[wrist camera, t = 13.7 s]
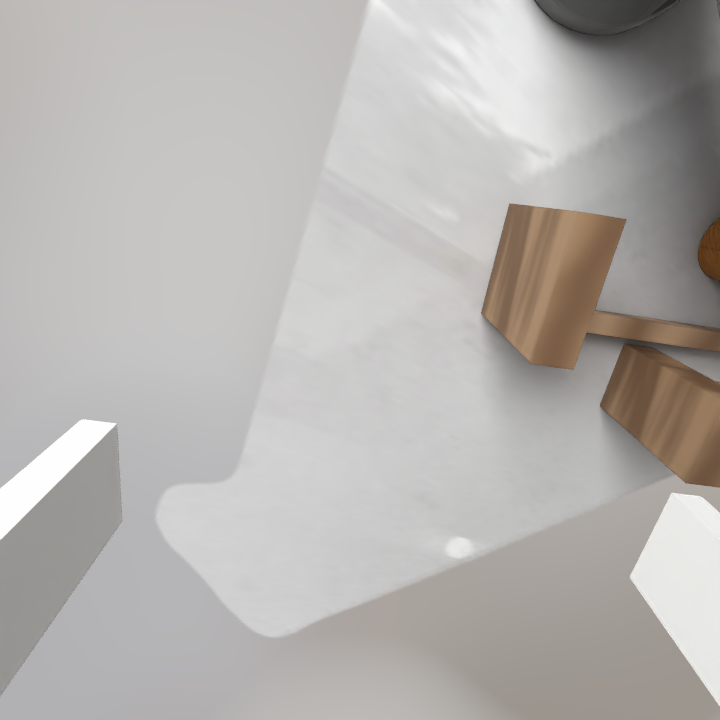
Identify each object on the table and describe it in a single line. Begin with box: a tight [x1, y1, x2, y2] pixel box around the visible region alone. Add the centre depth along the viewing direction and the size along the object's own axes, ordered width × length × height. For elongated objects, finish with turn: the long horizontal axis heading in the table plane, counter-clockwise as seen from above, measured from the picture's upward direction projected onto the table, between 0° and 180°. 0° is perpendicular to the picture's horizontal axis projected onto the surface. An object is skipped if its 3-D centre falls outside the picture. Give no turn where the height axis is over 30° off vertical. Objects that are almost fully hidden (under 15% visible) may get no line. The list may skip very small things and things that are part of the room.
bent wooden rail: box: [481, 204, 720, 370], centre depth 34 cm, size 27×19×13 cm
